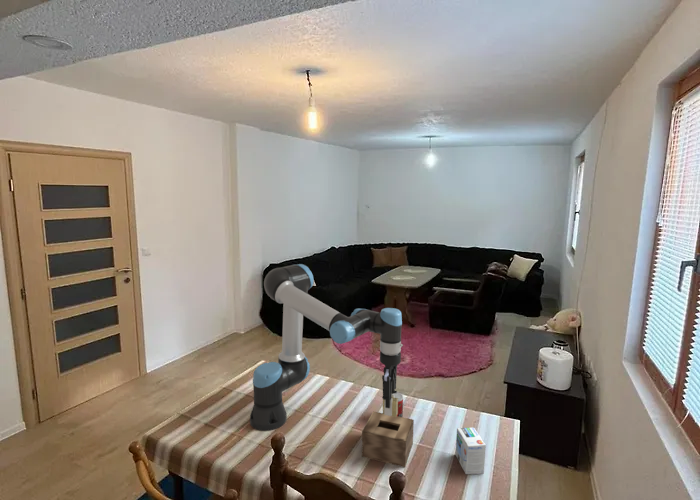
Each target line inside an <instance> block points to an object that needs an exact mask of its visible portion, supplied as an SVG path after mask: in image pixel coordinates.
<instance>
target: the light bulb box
mask: <svg viewBox="0 0 700 500" xmlns="http://www.w3.org/2000/svg"><path fill="white" fill-rule="evenodd" d="M455 440H456V442H455V456H456V458H457V460H458V462H459V464H460V466H461V468H462V470H463V472H464V473H465V475H477V474H479V475H482V474H484V473H485V461H486V460H485V459H486V447H487V446H486V445H487V444H486V443H485V442H484V441H483V439H482V437H481V435H480V434H479V433H478V431H477V430H476V428H475V427H460V428H459V427H457V428H456V439H455Z"/></svg>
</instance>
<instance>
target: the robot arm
mask: <svg viewBox="0 0 700 500" xmlns="http://www.w3.org/2000/svg"><path fill="white" fill-rule="evenodd" d="M263 280H264V281H263V286H264V291H265V294H267V296H268V297H270V299H271V300H273V301H275V302H276V303H278V304H280V305H281V304H283V307H282V312H283V313H282V339H281V340H282V341H281V343H282V344H281V345H282V346H281V347H282V348H281V352H280V353H278V356H277V357H278V358H277V359H278V360H277V362H275V361H269V362H263V363H262V364H260V365H258V366H256V368H255V369H254V371H253V374H252V375H253V377H252V384H253V388H252V389H253V406H252V408H251V409H252V410H251V413H250V415H249V425H250V426H251V427H252V428H253V429H255V430H257V431H272V430H276V429H279V428H280V427H282V426H283V425H284V424H285V423H287V422H286V421H287V420H288V418H287V414H288V413H287V411H286V408H285V405H284V402H283V392H285V391H287V390H289V389H290V388H293V387H294V386H296V385H298V384H299V385H300V384H301V383H302V382H304V380H306V379H307V378H308V376H309V374H310V370H311V367H310V366H311V365H310V362H309V360H308V357H306V354H305V353H304V352H303V329H304V317H305V318H307V319H309V320H310V321H312V322H314V323H315V324H317V325H318V326H321V328H324V329H326V331H328V332H329V336H330V338H331V339H332V340H333V342H335V343H336V344H340V345H342V344H345V343H348V342H351V341H353V340H354V339H355V338H358V337H360V336H362V335H365V334H366V333H369V332H370V333H375V334H379V338H380V339H379V350H380V351H379V362H380V363H381V364H382V365H384V367H383V375H382V376H381V379H382V396H381V397H382V400H383V399H384V400H385V401H384V415H388V416H392V397H394V394H393V393H395V394H396V393H397V392H398V391H397V390H396V389H397V372H398V371H397V370H398V365H400V364H401V361H402V353H401V350H402V349H401V348H402V347H403V345H404V344H402V325H403V321H402V320H403V318H402V317H403V316H402V315H403V314H402V311H401V310H400V309H398V308H395V307H394V308H393V307H385V308H382V309H381V311H380V312H379V311H376V310H375V311H374V310H370V309H366V308H355V309H354V310H353V312H351V314H350V316H347V315H345V314H343V313H341V312H339V311H338V310H336V309H334V308H332V306H331V307H330V306H329V305H328V304H326V303H323V302H322V301H320V300H319V299H317V298H316V297H313V296H312V295H310V294H309V293H308V291H309V290H310V289H311V288H312V287H313V286H314V275H313V273H312V271H311V270H310V268H309V266H307V265H306V264H303V263H299V264H298V263H297V264H294V263H293V264H291V265H287V266H282V267H276V268H273V269H271V270H270V271H268V273H267V274H266V275H265V278H264V279H263Z"/></svg>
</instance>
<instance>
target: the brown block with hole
mask: <svg viewBox="0 0 700 500" xmlns="http://www.w3.org/2000/svg"><path fill="white" fill-rule="evenodd" d="M414 421H415V420H414V419H412V418H408V417H407V418H406V417H398V416H396V417H393V416H388V415H383V412H378V411H372V412H371V415H370V416H369V418H368V420H367V421H366V424H365V425H364V428H363V429H362V430H361V457H362V458H366V459H369V460H373V461H377V462H381V463H382V462H383V463H386V464H389V465H394V466H398V467H402V468H406V466H407V463H408V459H409V457H410V453H411V452H412V449H413V448H412V447H413V444H414Z"/></svg>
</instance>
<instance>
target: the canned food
mask: <svg viewBox="0 0 700 500" xmlns="http://www.w3.org/2000/svg"><path fill="white" fill-rule="evenodd" d="M393 394H394V398H398V414H397V416H398V417H403V413H404V409H403V408H404V395H403V394H402V393H400V392H398V391H397V393H396V394H395V393H393ZM403 418H404V417H403Z"/></svg>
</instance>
